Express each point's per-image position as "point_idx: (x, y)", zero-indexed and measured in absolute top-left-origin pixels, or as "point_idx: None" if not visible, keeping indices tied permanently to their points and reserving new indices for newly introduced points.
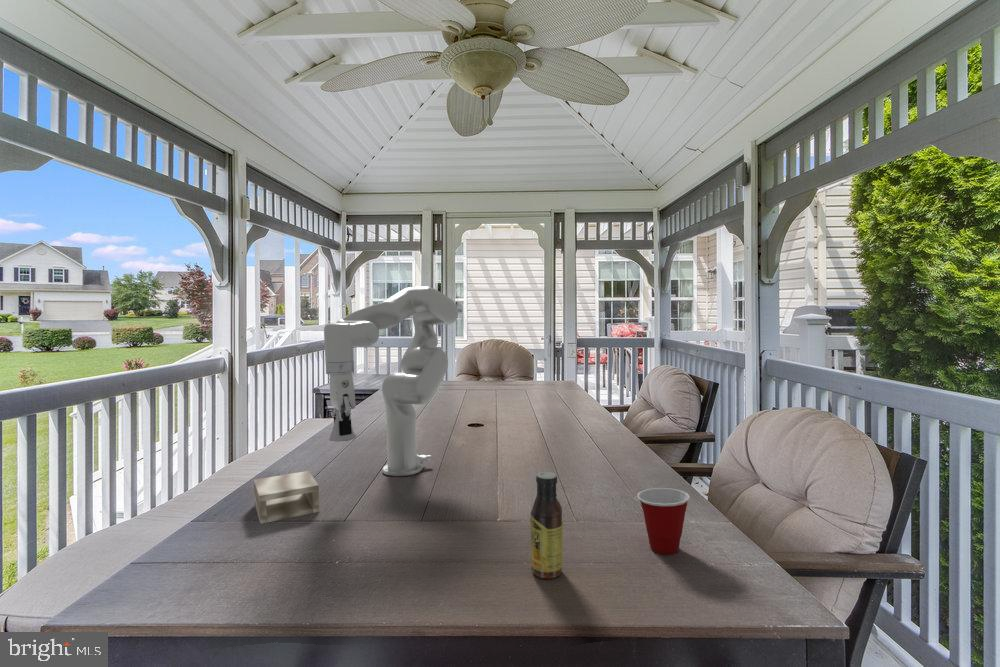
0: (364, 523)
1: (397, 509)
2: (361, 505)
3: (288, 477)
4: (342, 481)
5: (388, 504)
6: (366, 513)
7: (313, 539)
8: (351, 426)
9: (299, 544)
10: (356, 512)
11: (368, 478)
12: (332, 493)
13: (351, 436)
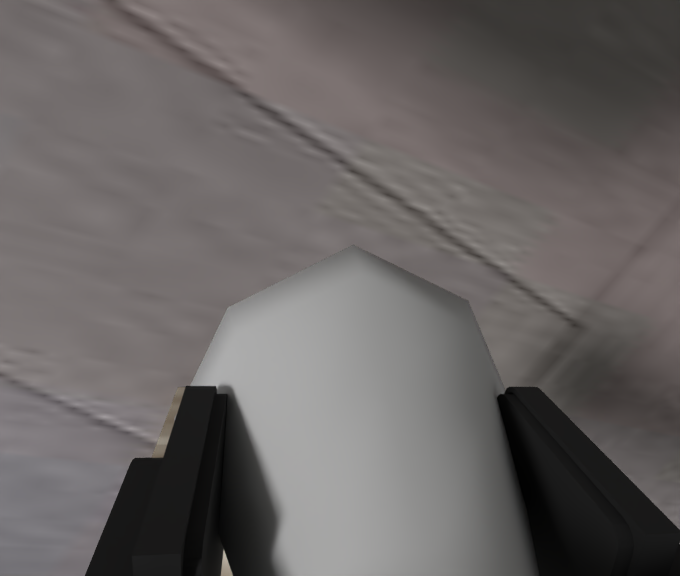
0: (660, 268)
1: (636, 84)
2: (472, 215)
3: (222, 567)
4: (32, 183)
5: (550, 95)
6: (575, 227)
7: (646, 450)
8: (434, 387)
9: (647, 490)
10: (534, 261)
11: (54, 14)
12: (218, 287)
13: (486, 359)
